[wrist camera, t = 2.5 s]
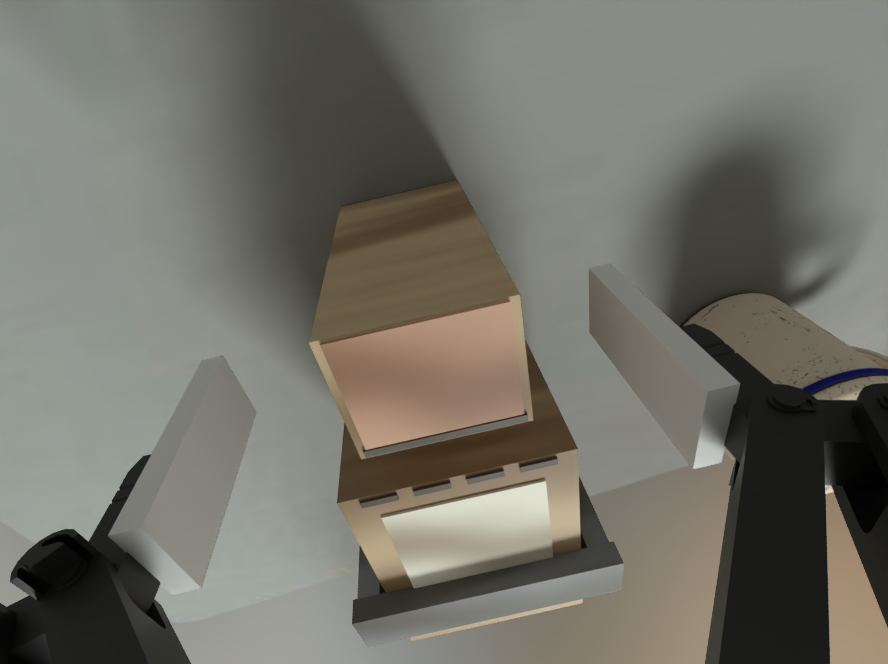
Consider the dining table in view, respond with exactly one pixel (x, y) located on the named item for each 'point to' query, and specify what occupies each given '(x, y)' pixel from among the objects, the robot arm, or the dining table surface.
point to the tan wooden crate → (474, 528)
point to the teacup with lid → (792, 348)
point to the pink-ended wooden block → (419, 324)
